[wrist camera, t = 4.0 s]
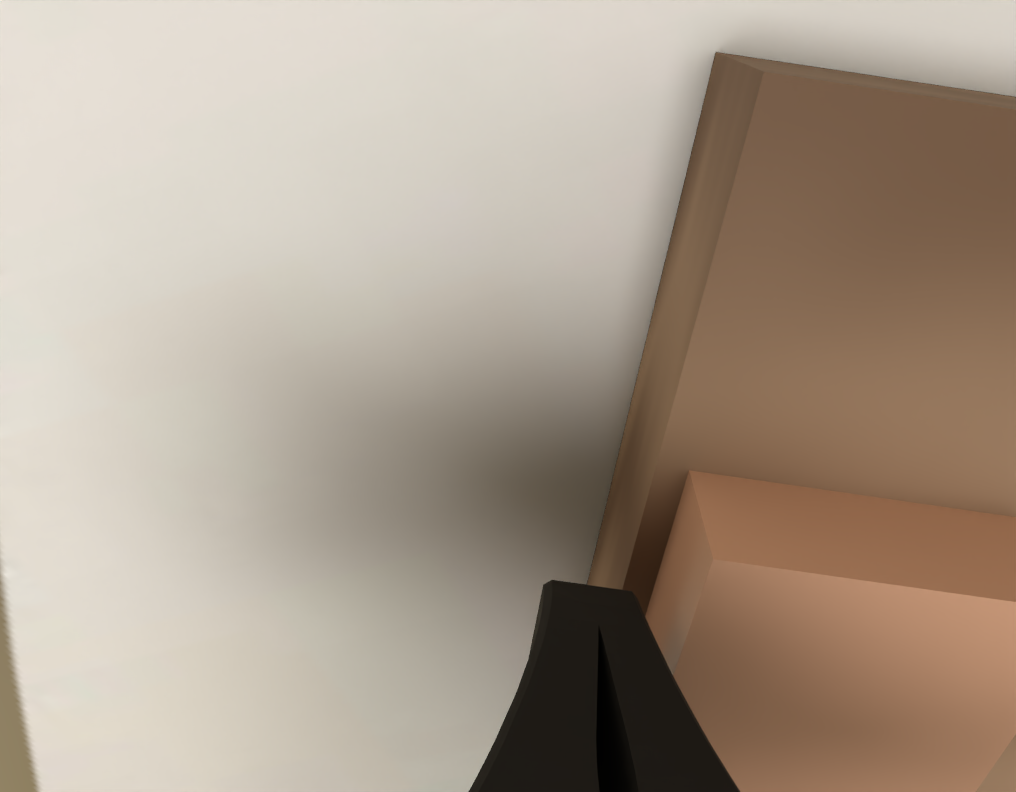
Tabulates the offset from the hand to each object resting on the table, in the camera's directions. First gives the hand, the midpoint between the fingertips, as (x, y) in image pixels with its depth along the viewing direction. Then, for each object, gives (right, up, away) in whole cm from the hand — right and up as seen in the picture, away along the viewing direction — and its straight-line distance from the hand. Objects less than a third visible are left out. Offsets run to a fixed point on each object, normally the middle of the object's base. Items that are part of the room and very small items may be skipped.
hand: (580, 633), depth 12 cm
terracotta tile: (+4, 0, +1) cm, 4 cm away
